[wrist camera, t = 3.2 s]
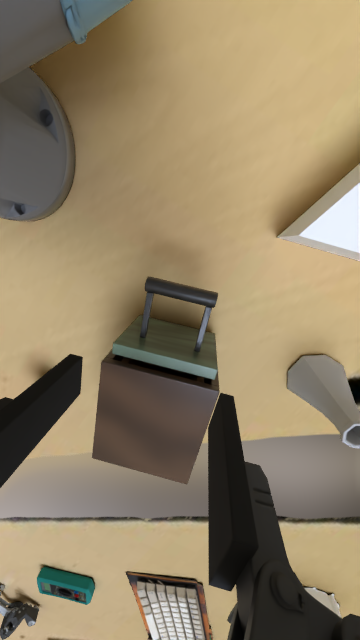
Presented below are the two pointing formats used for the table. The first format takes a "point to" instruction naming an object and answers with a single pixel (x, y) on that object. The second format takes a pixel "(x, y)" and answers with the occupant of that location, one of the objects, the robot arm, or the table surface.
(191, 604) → the mechanical keyboard
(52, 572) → the digital multimeter
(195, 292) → the drawer
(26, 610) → the bicycle component
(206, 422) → the cabinet
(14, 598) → the table surface
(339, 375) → the flask
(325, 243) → the triangle block
